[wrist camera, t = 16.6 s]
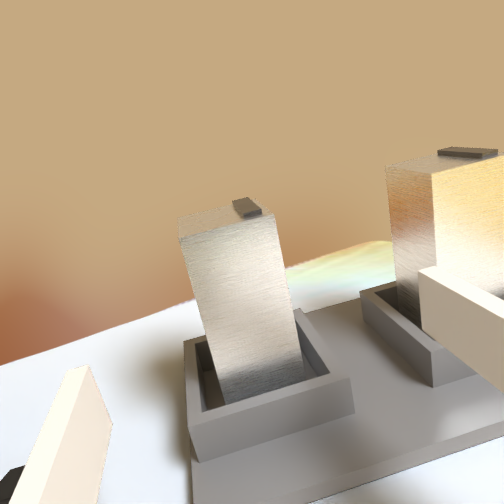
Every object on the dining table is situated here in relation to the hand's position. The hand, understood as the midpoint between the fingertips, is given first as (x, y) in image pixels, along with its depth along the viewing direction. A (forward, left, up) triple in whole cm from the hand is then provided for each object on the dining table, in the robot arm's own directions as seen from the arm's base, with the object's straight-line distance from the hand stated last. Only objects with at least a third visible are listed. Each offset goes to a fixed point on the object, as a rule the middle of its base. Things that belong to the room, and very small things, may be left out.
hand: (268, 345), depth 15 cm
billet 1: (0, +9, -9) cm, 12 cm away
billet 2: (+14, +9, -9) cm, 19 cm away
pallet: (+7, +9, -10) cm, 15 cm away
